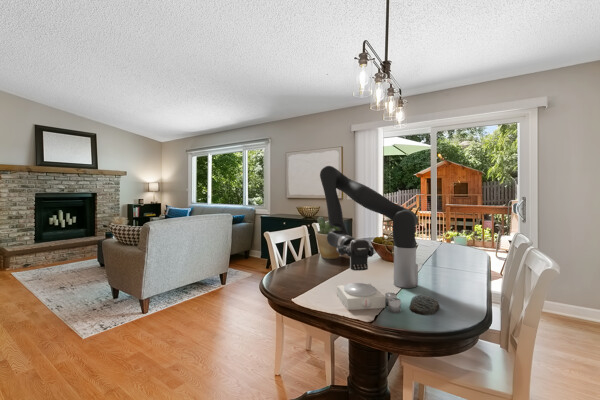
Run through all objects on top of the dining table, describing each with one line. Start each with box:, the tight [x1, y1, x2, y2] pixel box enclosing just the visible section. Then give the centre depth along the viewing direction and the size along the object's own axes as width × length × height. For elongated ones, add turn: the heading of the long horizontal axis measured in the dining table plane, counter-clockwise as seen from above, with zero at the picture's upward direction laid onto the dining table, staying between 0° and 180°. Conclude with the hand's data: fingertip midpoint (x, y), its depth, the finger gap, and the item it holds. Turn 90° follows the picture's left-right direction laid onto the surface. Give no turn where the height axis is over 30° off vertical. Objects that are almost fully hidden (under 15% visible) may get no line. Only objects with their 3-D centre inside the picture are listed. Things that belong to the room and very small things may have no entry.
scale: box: [336, 282, 386, 311], centre depth 107 cm, size 14×14×5 cm
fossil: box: [408, 294, 440, 316], centre depth 101 cm, size 10×13×4 cm
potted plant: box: [315, 216, 341, 260], centre depth 178 cm, size 18×19×25 cm
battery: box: [349, 238, 370, 272], centre depth 107 cm, size 7×4×11 cm, turn 102°
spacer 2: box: [388, 297, 402, 315], centre depth 98 cm, size 4×4×4 cm
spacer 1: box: [384, 292, 398, 308], centre depth 103 cm, size 4×4×4 cm
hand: (361, 254), depth 104 cm, fingers closed on battery, 7 cm apart
